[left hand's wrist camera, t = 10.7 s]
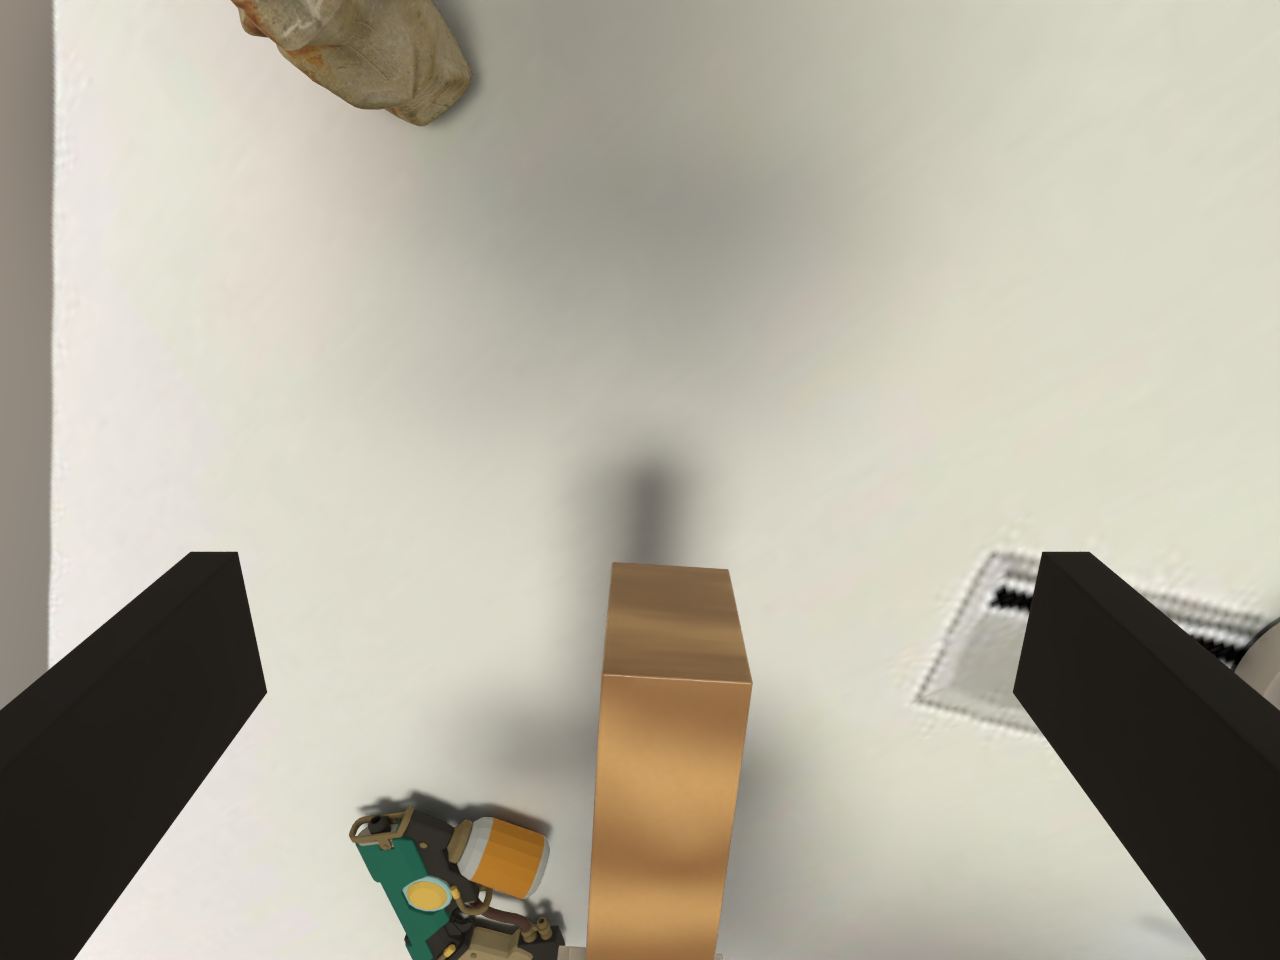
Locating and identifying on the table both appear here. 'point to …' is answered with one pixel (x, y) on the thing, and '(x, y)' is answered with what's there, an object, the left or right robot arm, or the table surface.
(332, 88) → the sculpture
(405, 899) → the spray gun
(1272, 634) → the bust sculpture
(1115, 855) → the table surface
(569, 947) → the right robot arm
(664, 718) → the bar
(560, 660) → the table surface
